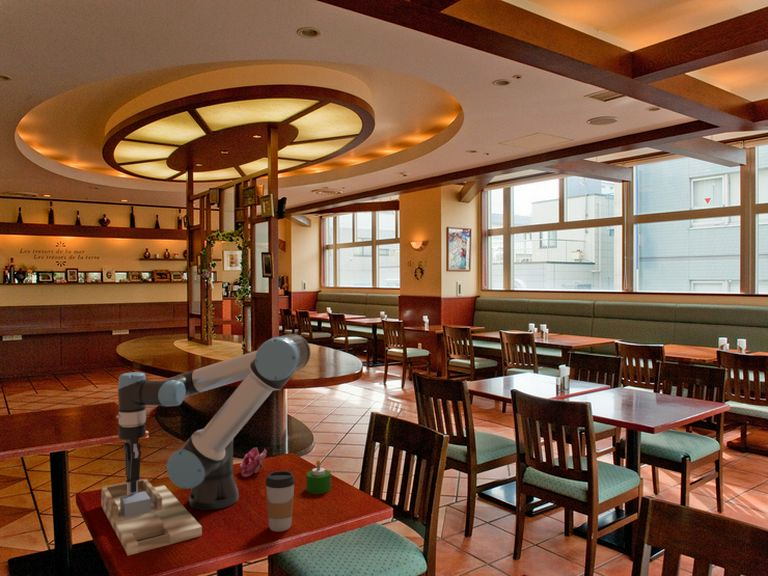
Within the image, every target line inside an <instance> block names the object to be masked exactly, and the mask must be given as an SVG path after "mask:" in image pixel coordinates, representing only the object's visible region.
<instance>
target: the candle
mask: <svg viewBox="0 0 768 576" xmlns="http://www.w3.org/2000/svg"><path fill="white" fill-rule="evenodd" d="M321 463H322V462H321V461H320V460H319V459H318V460H317V461H316V464H315V465H316V467H315V468H312V469H311V470H309V471H307V472H306V474H305V475H306V477H305V478H306V482H305V483H306V484H305V485H306V486H305V489H306V492H307V493H309V494H312V495H323V494H327V493H329V492H330V491H331V489H332V488H331V487H332V484H331V483H332V478H331V477H332V475H331V474H332V473H331V471H330V470H328V469H325V468H324V467H321V465H322V464H321Z"/></svg>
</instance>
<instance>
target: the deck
mask: <svg viewBox="0 0 768 576" xmlns="http://www.w3.org/2000/svg"><path fill="white" fill-rule="evenodd" d="M144 491H145V492H146V493H147V494H148V496H149V497H150V499H151V512H148V513H144V514H140V515H135V516H131V517H126V518H125V517H124V516H123V514H122V512H121V510H120V496H124V495H127V483H126V481H124V482H121V483H116V484H110V485H105V486H101V493H100V495H101V496H100V497H101V508H102V509H103V512H104V514H105V515H106V517H107V519H108V521H109V523H110V525H111V527H112V529H113V530H114V532H115V534H116V536H117V538H118V540H119V542H120V543H121V546H122V547H123V550H124V551H125V553H126V555H127V556H131V555H135V554H139V553H143V552H146V551H151V550H154V549H157V548H161V547H165V546H169V545H173V544H176V543H180V542H183V541H187V540H191V539H194V538H198V537H202V536H203V527H202V525H201V524H200V522H198V521H197V520H196V518H195V517H194V516H193V515H192V514H191V513H190V512H189V510H187V509H186V508H185V506H184V505H183V504H182V503H181V502H180V501H179V500H178V498H176V496H175V495H174V494H173V493H172V492H171V490H170V489H168V488H167V486H166V485H165V484H164V485H158V486H153V485H152V483H150V481H149V480H148V479H147V478H146V477H145V478H142V479H139V480H138V493H139V492H144Z"/></svg>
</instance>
